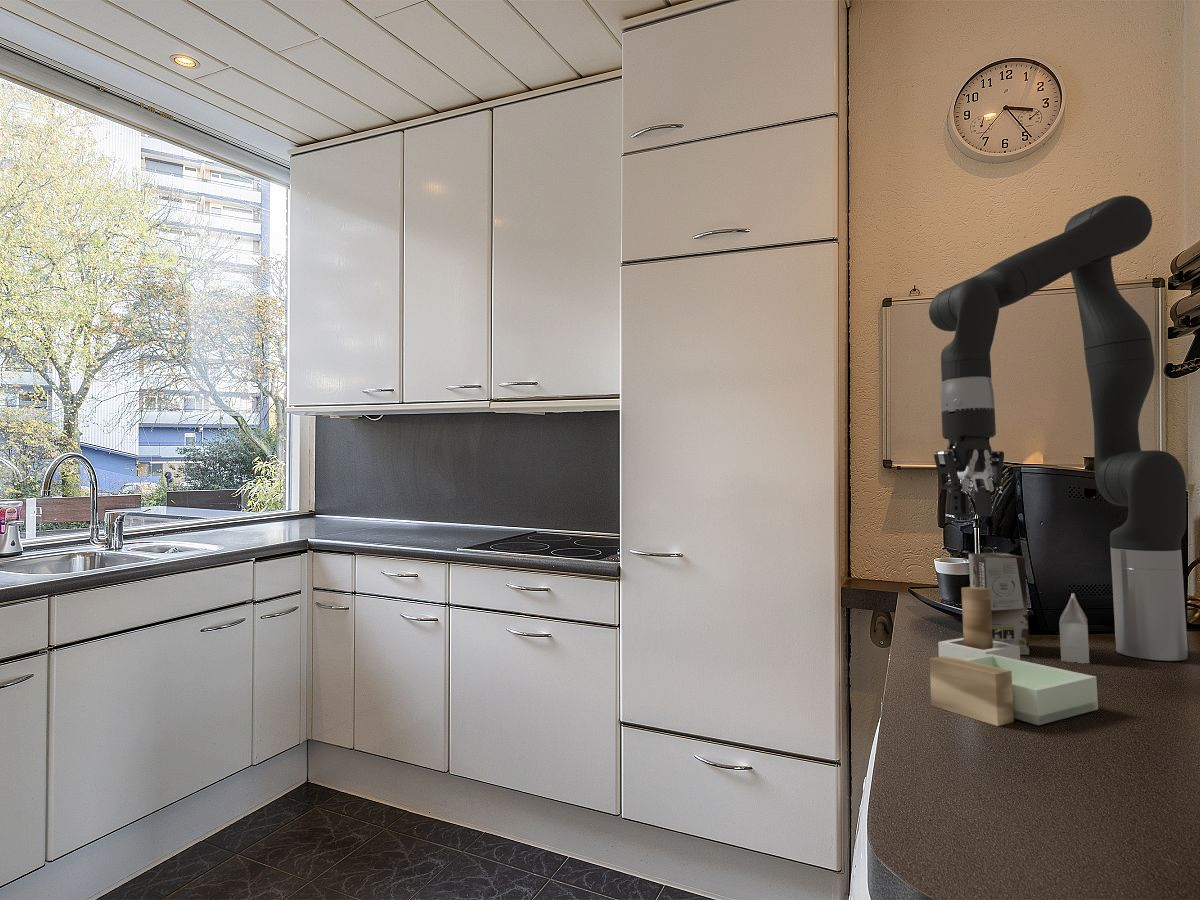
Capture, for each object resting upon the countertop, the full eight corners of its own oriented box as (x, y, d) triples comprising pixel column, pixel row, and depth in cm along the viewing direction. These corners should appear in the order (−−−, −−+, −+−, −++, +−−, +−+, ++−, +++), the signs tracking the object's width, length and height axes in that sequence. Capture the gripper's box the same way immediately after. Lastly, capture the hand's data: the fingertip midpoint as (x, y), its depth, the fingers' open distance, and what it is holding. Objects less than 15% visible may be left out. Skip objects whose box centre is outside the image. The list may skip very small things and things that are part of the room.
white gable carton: (1061, 661, 112) (1058, 597, 113) (1062, 652, 118) (1059, 592, 118) (1089, 664, 110) (1085, 599, 111) (1089, 655, 116) (1085, 593, 116)
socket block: (972, 658, 115) (971, 636, 115) (1020, 669, 108) (1019, 645, 108) (939, 664, 111) (938, 641, 112) (986, 676, 104) (985, 652, 104)
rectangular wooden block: (947, 702, 92) (945, 655, 93) (1013, 721, 84) (1011, 670, 85) (931, 705, 91) (929, 658, 91) (997, 726, 83) (995, 674, 83)
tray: (992, 682, 100) (990, 653, 100) (1098, 709, 88) (1096, 676, 88) (934, 694, 95) (932, 664, 95) (1038, 725, 82) (1036, 690, 83)
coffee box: (1031, 655, 116) (1026, 556, 117) (988, 654, 117) (984, 556, 118) (1011, 643, 125) (1006, 551, 126) (971, 642, 126) (967, 551, 127)
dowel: (975, 662, 112) (972, 586, 113) (999, 667, 109) (996, 589, 109) (959, 665, 111) (955, 588, 111) (982, 671, 107) (979, 591, 108)
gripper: (975, 412, 118) (980, 514, 117) (916, 409, 112) (920, 517, 111) (1019, 407, 112) (1024, 515, 111) (958, 404, 105) (963, 518, 104)
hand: (972, 515), depth 111 cm, fingers open, 4 cm apart
